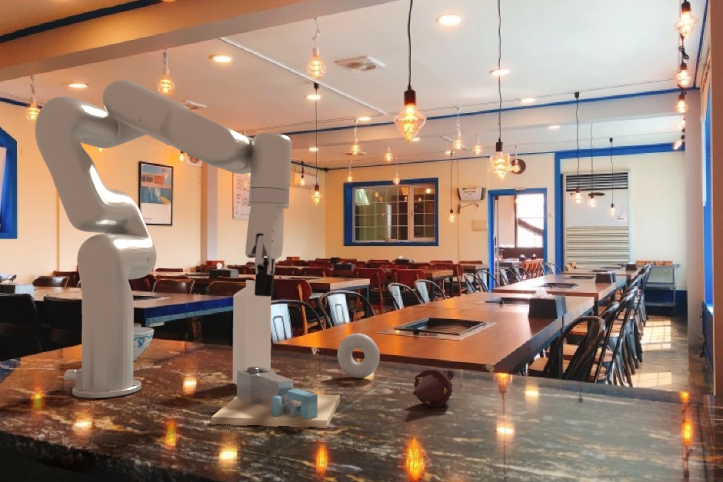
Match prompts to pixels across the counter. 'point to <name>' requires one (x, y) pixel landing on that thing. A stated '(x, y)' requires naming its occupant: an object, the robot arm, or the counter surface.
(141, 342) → the chinaware
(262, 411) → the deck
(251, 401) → the link
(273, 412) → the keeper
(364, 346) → the donut
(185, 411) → the counter surface
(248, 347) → the milk
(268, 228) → the robot arm
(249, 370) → the pintle
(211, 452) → the counter surface
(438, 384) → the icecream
